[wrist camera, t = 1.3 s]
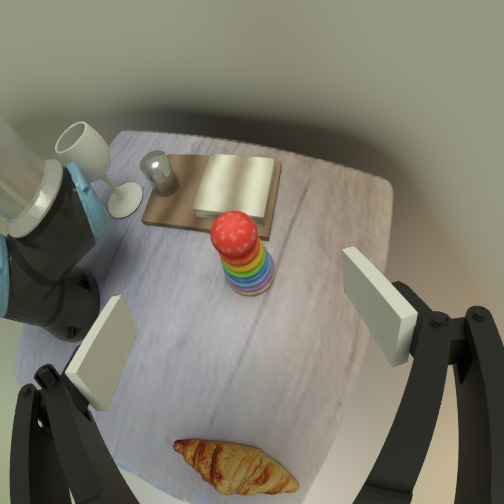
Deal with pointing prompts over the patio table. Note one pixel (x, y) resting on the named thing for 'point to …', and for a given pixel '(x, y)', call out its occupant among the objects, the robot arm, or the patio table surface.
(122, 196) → the wineglass
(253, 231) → the stacking toy
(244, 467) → the croissant
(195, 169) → the board
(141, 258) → the patio table surface
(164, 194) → the grey brown short cylinder
